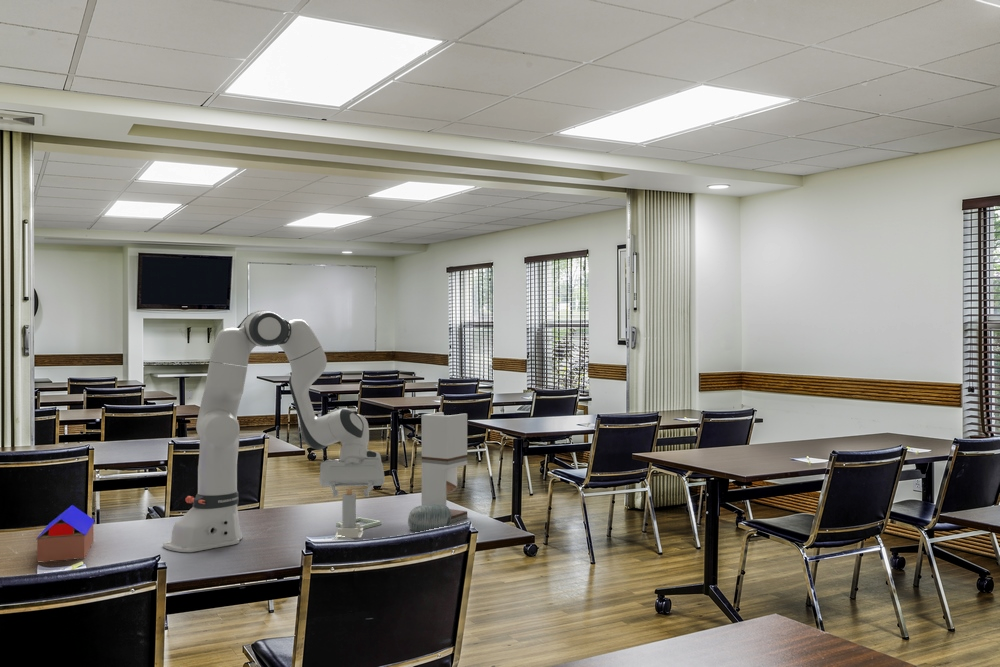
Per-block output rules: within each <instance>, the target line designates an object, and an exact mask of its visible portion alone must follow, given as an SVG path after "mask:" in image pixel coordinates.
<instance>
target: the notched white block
mask: <svg viewBox="0 0 1000 667" xmlns="http://www.w3.org/2000/svg"><path fill="white" fill-rule="evenodd" d="M467 465H468V413H459V414H451V415H449V414H448V415H447V414H446V415H445V414H444V412H443V411H440V412H433V413H426V414H421V506H422V505H429V504H437V505H445V506H447V495H449V494H452V493H453V492H455V491H456V490H457V489H458V467H463V466H467ZM449 510H450V513H451V520H450V524H451V523H455V522H458V521H460V520H459V519H461V520H464V519H467V518H468V511H467V510H461V509H454V508H449ZM463 518H464V519H463ZM457 520H458V521H457Z"/></svg>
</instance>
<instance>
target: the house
mask: <svg viewBox="0 0 1000 667" xmlns="http://www.w3.org/2000/svg"><path fill="white" fill-rule="evenodd" d="M47 524H48V525H46V527H45V528H44V529H43V530H42V532H40V534H39V535H38V536H37V538H36V541H37V542H36V544H37V553H36V557H37V558H36V559H37V560H36V561H50V560H64V559H74V558H84V557H85V555H86V554H87V555H88V553H89V551H90V549H91V548H90V546H91V544H92V542H93V543H94V524H95V519H93V518H92V517H91V516H89V515H88V514H86V513H85V512H83V511H82V510H81V509H80V508H77V507H76V506H75V505H73V504H72V505H70V506H69V507H68V508H66V509H65V510H64V511H63V512H61V513H60V514H59V515H57V517H56V518H54V519H53V520H51V521H50V522H49V523H47ZM92 545H93V544H92ZM91 547H92V546H91ZM89 548H90V549H89ZM88 550H89V551H88ZM87 552H88V553H87ZM87 555H86V556H87ZM85 558H86V557H85Z"/></svg>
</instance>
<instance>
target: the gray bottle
mask: <svg viewBox="0 0 1000 667" xmlns="http://www.w3.org/2000/svg"><path fill="white" fill-rule="evenodd" d="M345 492H346V493H344V494H342V495H341V496H342V501H341V503H342V504H341V506H342V508H341V509H342V511H341V512H342V513H341V514H342V515H341V516H342V517H341V518H342V528H356V523H357V522H356V518H357V514H356V513H357V512H356V511H357V503H356V501H357V500H356V499H357V497H356V493H353V489H352V488H348V489H346V491H345Z"/></svg>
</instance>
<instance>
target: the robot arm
mask: <svg viewBox="0 0 1000 667" xmlns="http://www.w3.org/2000/svg"><path fill="white" fill-rule="evenodd" d="M273 346H279V347H280V348H281V349H282V351H283V352H284V354H285V357H287V358H286V359H287V361H288V362H289V364H290V369H291V375H290V377H289V378H288V384H289V390H290V393H291V397H292V399H293V404H294V407H295V410H296V413H297V416H298V419H299V422H300V426H301V432H302V434H301V435H302V438H303V440H304V443H305V444H306V446H308V447H310V448H311V449H314V450H317V451H320V450H323V449H325V448H326V447H329V446H330V445H333V444H336V443H338V442H340V443H341V448H340V454H339V459H326V460H324V461H322V462H321V463H320V466H319V470H320V472H319V476H318V477H319V478H318V480H319V481H318V482H319V484H320V486H321V487H324V488H325V487H330V490H331V491H332V497H333V498H339V489H336V487H362V486H363V487H367V488H364V489H363V497H369V496H370V492H371V491H372V490H373V488H374V486H376V487H378V486H383V485H384V484H385V472H384V471H385V469H384V464H383V462H382V456H381V453H380V452H377V451H374V450H369V449H368V446H369V444H370V428H369V423H368V420H367V419H366V418H365V417H364V416H363V415H362V414H359V413H358V414H357V412H355V411H354V410H352V409H350V408H347V407H344V408H343V407H342V408H340V409H337V410H334V411H332V412H329V413H327V414H324V415H322V416H317V415H316V413H315V411H314V407H313V404H312V401H311V398H310V393H309V391H310V388H311V386H312V384H314V383H315V382H316V381H317V380H318V379H319V378H320V377H321V376H322V374H323V373H324V372H325V369H326V368H327V363H328V360H327V356H326V353H325V351H324V348H323V346H322V345H321V343H320V340H319V338H318V337H317V335H316V334H315V333H314V331H313V329H312V328H311V326H310V325H309V324H308V322H306V321H305V320H303V319H301V318H300V319H299V318H294V319H291V320H287V319H285V318H284V317H282V316H281V315H279V314H278V313H277V312H274V311H270V310H257V311H254V312H251V313H249V314H248V315H246V317H245V318H244V319H243V320H242V321H241V323H239V325H238V326H237V327H226V328H222V329H221V330H220V331H218V333H217V335H216V338H215V340H214V342H213V347H212V349H211V353H210V358H209V362H208V363H209V364H208V368H207V375H206V379H205V384H204V385H205V386H204V391H203V394H202V398H201V402H200V406H199V411H198V413H197V414H198V415H197V420H196V425H195V427H196V428H195V430H196V432H197V435H198V437H199V452H198V454H199V455H198V465H197V493H196V495H195V497H194V496H191V495H187V496H186V497H185V502H186V504H192V507H191V508H190V509H189V510H188V511H187V512H185V514H184V515H183V516H181V517H180V518H179V520H178V521H176V522H175V523H174V524H173V528H172V530H171V539H170V540H167V541H164V542H162V547H163V548H164V549H166V550H169V551H173V552H177V553H178V552H180V553H194V552H200V551H204V550H210V549H216V548H221V547H227V546H232V545H237V544H239V543H240V540H242V539H243V533H242V530H241V526H240V522H239V521H240V520H239V512H238V511H239V510H238V507H239V491H238V457H239V447H240V423H239V421H238V419H237V416H238V410H239V406H240V403H241V400H242V397H243V394H244V388H245V383H246V377H247V371H248V365H249V358H250V355H251V353H252V351H253V349H254V348H256V347H261V348H263V347H264V348H265V347H273Z"/></svg>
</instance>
